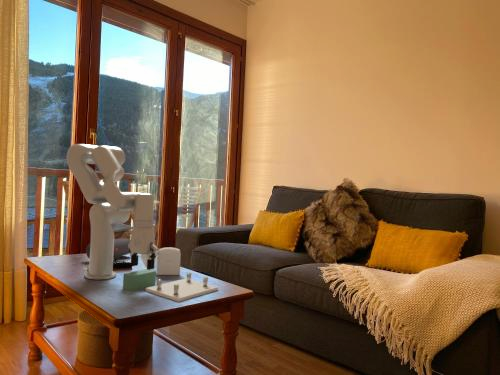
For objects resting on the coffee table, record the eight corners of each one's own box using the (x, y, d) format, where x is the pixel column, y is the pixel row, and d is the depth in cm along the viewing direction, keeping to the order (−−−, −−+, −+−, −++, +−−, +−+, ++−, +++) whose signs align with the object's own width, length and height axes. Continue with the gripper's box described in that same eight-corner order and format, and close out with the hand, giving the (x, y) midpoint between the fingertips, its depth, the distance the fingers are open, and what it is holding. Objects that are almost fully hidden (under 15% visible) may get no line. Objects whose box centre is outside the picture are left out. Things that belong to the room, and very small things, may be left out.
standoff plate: (145, 290, 154) (146, 278, 154) (185, 281, 172) (186, 270, 172) (178, 301, 144) (179, 288, 144) (217, 290, 162) (218, 278, 162)
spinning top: (137, 270, 186) (139, 244, 186) (153, 269, 190) (155, 243, 190) (142, 273, 180) (144, 247, 179) (159, 272, 184) (160, 246, 183)
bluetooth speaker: (97, 264, 193) (98, 243, 193) (84, 260, 198) (85, 240, 197) (133, 257, 212) (134, 238, 212) (120, 254, 217) (121, 236, 217)
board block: (122, 288, 156) (123, 273, 156) (147, 283, 166) (147, 268, 166) (130, 291, 153) (131, 276, 153) (155, 285, 163) (156, 271, 163)
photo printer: (156, 275, 179) (158, 248, 178) (156, 273, 183) (158, 246, 182) (179, 276, 180) (181, 248, 180) (179, 273, 185) (181, 247, 184)
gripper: (121, 223, 161) (120, 265, 161) (150, 226, 151) (149, 272, 151) (137, 222, 167) (135, 263, 167) (165, 225, 157) (164, 269, 157)
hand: (142, 267), depth 159 cm, fingers open, 9 cm apart
